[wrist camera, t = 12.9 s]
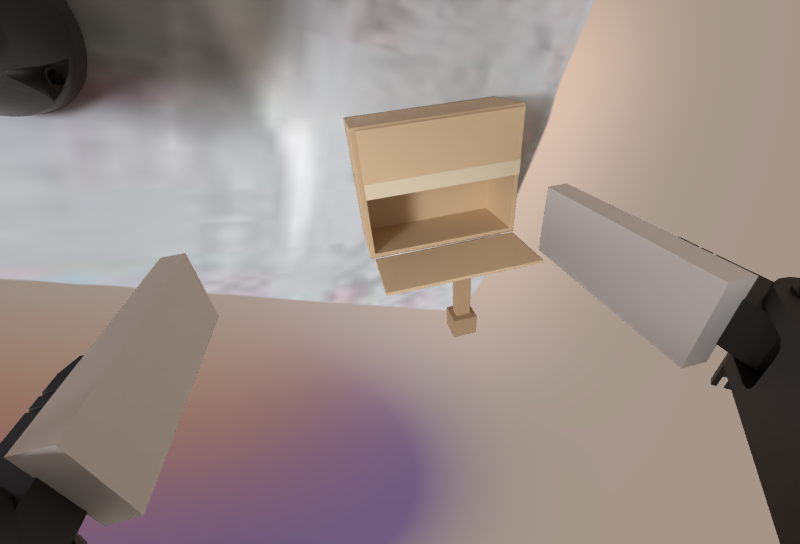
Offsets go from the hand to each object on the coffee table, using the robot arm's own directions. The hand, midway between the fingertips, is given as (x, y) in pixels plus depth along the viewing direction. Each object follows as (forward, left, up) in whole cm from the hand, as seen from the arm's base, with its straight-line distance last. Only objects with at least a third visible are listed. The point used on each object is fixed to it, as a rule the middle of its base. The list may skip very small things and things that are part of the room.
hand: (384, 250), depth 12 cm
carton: (+11, -8, -35) cm, 37 cm away
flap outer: (+11, -16, -22) cm, 29 cm away
